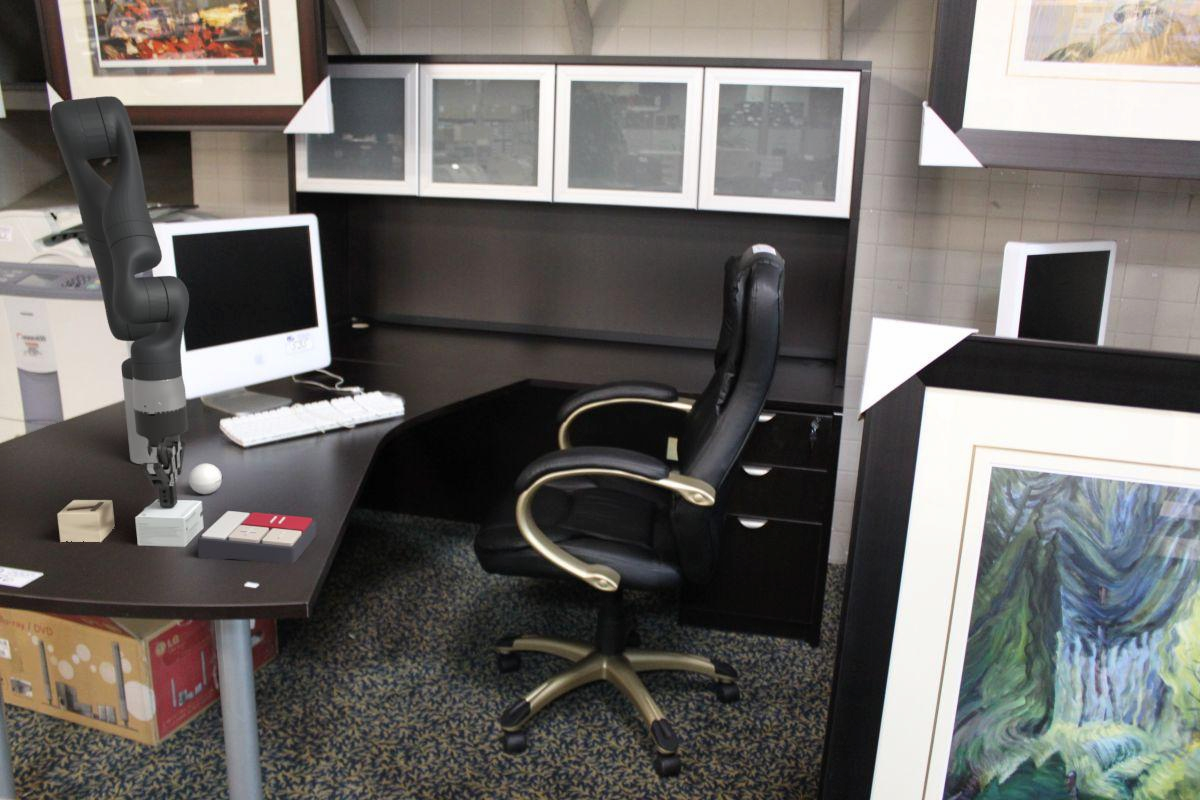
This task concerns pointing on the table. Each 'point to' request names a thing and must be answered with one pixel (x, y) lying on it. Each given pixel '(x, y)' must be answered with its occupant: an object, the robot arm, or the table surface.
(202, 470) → the white ball
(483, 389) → the table surface
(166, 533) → the small box
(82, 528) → the numbered block
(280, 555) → the calculator
